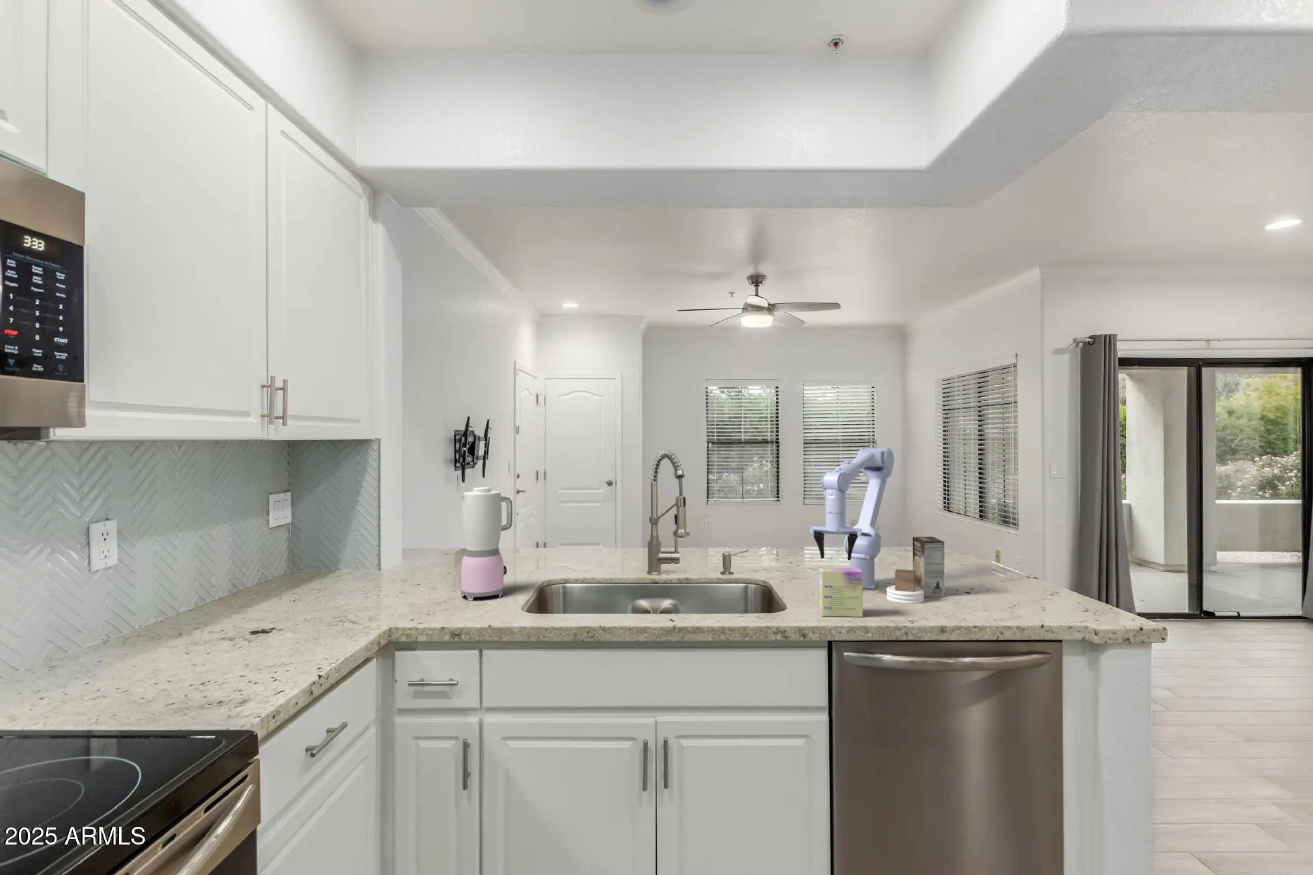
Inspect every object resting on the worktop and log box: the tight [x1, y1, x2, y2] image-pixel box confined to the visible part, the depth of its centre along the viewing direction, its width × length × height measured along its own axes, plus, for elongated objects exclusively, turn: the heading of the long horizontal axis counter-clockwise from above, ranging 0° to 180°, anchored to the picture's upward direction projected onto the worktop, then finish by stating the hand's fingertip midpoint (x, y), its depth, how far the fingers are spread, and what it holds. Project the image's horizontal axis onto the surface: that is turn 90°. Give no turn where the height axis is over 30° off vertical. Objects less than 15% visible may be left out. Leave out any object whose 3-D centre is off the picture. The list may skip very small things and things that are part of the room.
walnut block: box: [894, 568, 915, 592], centre depth 187 cm, size 5×5×5 cm
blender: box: [460, 486, 513, 599], centre depth 196 cm, size 16×12×32 cm
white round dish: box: [886, 584, 925, 605], centre depth 187 cm, size 10×10×4 cm
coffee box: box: [912, 536, 945, 598], centre depth 195 cm, size 9×6×16 cm
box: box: [818, 566, 864, 618], centre depth 172 cm, size 10×6×12 cm, turn 84°
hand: (835, 558), depth 194 cm, fingers open, 7 cm apart
